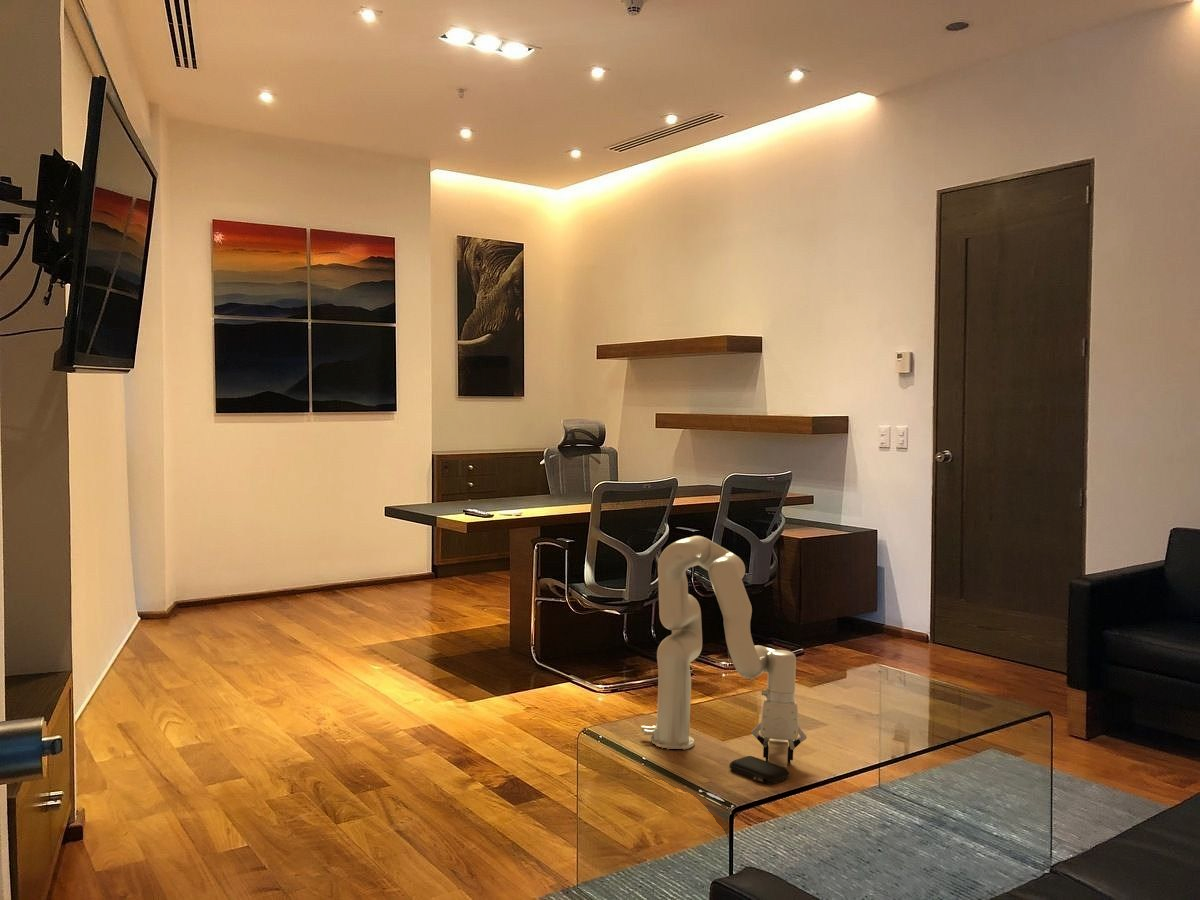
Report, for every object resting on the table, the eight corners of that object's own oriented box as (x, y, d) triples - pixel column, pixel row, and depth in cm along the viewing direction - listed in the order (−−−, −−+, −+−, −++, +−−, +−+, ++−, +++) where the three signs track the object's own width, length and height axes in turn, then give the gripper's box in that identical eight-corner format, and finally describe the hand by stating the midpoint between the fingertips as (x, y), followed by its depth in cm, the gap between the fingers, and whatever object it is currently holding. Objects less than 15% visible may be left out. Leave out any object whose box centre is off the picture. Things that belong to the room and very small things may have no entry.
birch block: (768, 765, 258) (769, 743, 258) (768, 759, 263) (769, 738, 263) (787, 767, 257) (788, 745, 257) (786, 761, 262) (787, 739, 262)
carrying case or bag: (723, 772, 253) (767, 789, 242) (723, 760, 252) (767, 777, 242) (748, 763, 260) (792, 779, 249) (748, 752, 260) (792, 768, 249)
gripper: (748, 697, 257) (746, 762, 258) (813, 702, 254) (810, 769, 255) (749, 689, 265) (746, 753, 265) (811, 695, 262) (808, 759, 262)
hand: (777, 760), depth 260 cm, fingers open, 5 cm apart
